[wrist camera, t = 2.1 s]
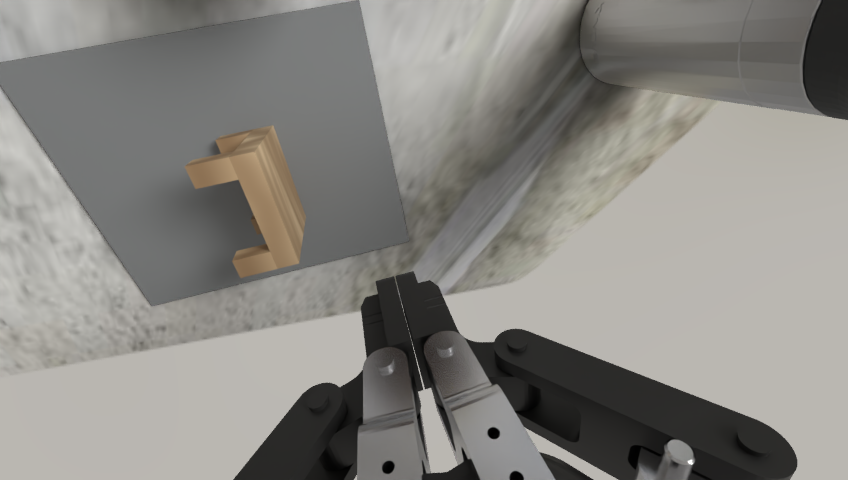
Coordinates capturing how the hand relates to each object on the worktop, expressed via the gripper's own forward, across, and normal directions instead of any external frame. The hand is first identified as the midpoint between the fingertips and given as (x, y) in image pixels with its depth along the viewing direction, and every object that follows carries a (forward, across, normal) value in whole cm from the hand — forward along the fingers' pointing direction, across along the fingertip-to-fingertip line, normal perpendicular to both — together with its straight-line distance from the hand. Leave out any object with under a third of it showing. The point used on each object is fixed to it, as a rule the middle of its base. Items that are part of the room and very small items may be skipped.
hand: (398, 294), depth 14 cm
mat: (+20, +10, -1) cm, 22 cm away
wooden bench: (+20, +8, 0) cm, 21 cm away
